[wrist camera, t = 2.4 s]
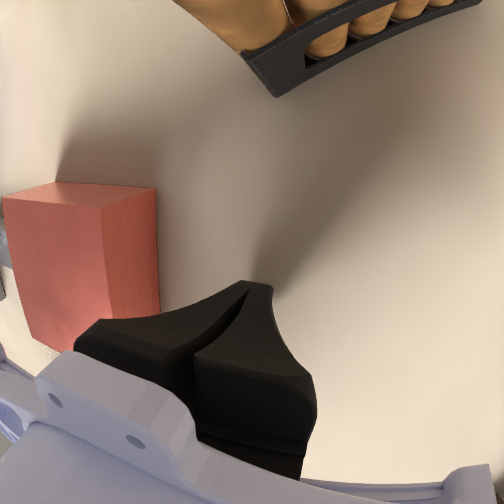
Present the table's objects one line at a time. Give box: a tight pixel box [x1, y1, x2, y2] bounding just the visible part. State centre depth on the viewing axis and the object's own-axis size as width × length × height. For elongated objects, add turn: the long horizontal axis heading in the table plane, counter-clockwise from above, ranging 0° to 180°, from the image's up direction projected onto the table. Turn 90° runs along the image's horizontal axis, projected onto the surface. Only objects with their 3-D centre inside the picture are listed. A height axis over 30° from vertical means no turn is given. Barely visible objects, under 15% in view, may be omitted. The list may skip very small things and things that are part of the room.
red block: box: [2, 182, 161, 353], centre depth 13 cm, size 8×7×4 cm
